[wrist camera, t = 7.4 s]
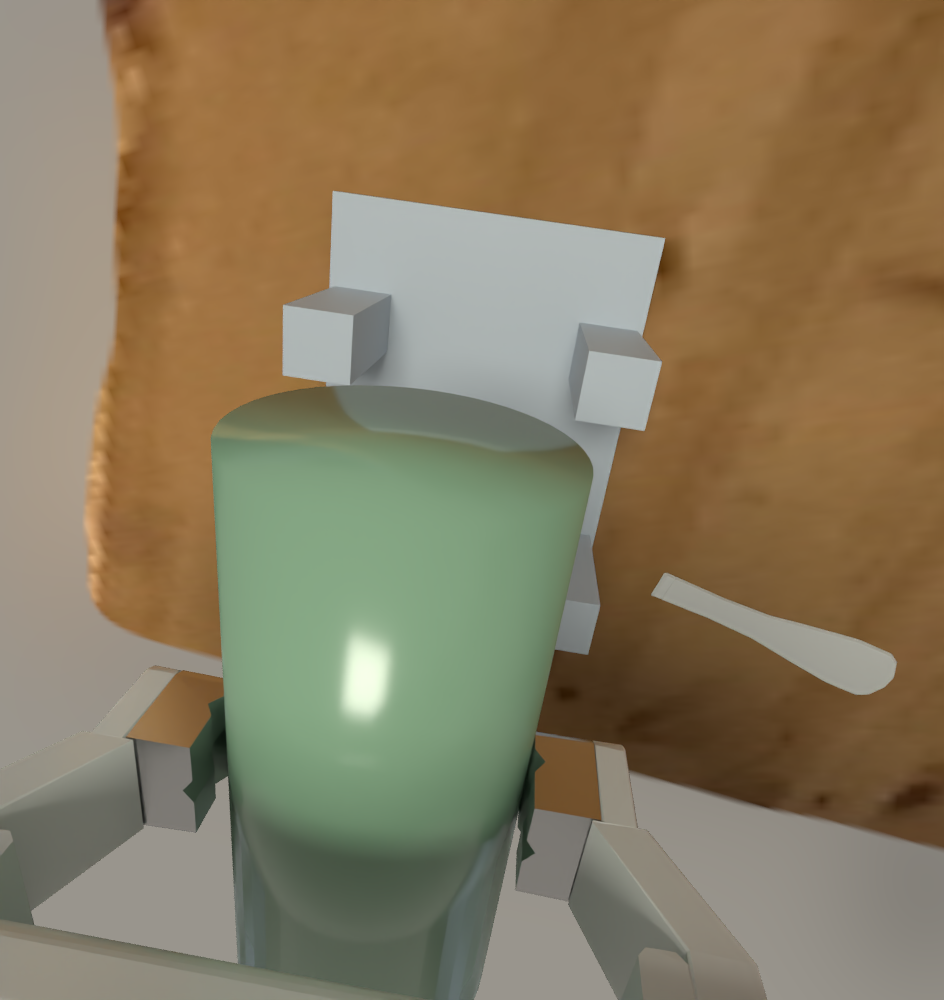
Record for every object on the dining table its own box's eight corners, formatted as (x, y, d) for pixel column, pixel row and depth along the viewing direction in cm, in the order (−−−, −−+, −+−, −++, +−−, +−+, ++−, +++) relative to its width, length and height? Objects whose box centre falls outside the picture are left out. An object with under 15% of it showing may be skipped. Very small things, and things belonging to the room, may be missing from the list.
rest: (341, 191, 22) (276, 185, 17) (660, 237, 22) (699, 246, 16) (325, 584, 29) (275, 671, 23) (569, 625, 29) (576, 723, 23)
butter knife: (868, 708, 29) (912, 661, 27) (366, 498, 27) (389, 437, 26) (863, 701, 29) (907, 655, 28) (368, 494, 27) (391, 433, 26)
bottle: (291, 369, 11) (122, 486, 7) (580, 412, 11) (612, 560, 6) (288, 932, 18) (204, 1181, 13) (468, 963, 18) (444, 1225, 13)
